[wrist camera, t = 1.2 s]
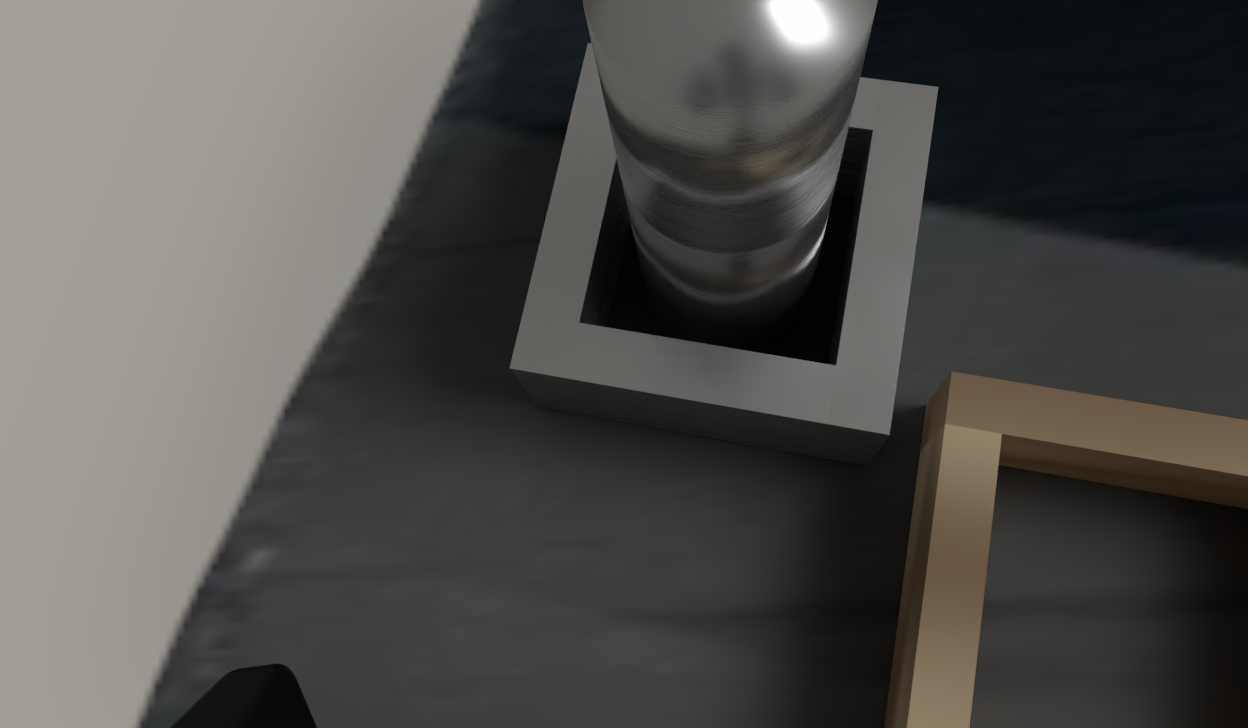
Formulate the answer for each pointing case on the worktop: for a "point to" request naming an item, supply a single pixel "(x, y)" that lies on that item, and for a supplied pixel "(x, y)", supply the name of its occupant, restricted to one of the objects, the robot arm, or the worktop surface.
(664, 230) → the tin canister
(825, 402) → the socket block
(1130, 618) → the worktop surface
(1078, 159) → the worktop surface
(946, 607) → the wooden box
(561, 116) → the worktop surface
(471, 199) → the worktop surface
